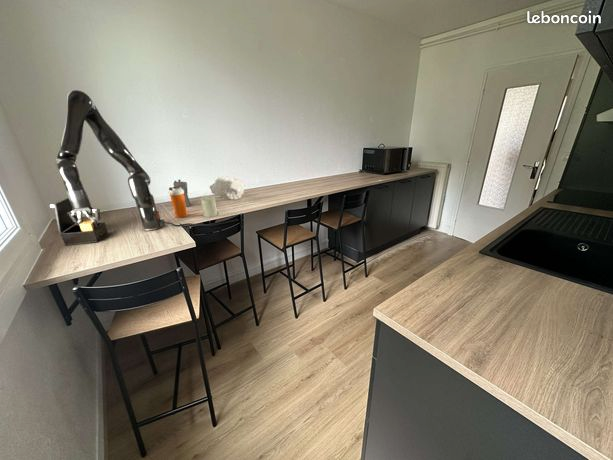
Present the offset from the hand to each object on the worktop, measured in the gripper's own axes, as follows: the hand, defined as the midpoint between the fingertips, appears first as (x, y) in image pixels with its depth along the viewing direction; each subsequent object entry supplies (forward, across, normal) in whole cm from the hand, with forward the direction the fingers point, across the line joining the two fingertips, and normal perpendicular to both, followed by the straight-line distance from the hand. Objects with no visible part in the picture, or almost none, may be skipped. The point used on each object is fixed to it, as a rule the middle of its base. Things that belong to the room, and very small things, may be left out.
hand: (90, 228), depth 136 cm
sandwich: (0, 0, 0) cm, 0 cm away
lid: (-8, -8, 0) cm, 12 cm away
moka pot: (+6, +37, +50) cm, 62 cm away
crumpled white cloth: (+6, +70, +61) cm, 93 cm away
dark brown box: (+6, -3, 0) cm, 7 cm away
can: (+6, +59, +24) cm, 64 cm away
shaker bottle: (+6, +40, +26) cm, 48 cm away
